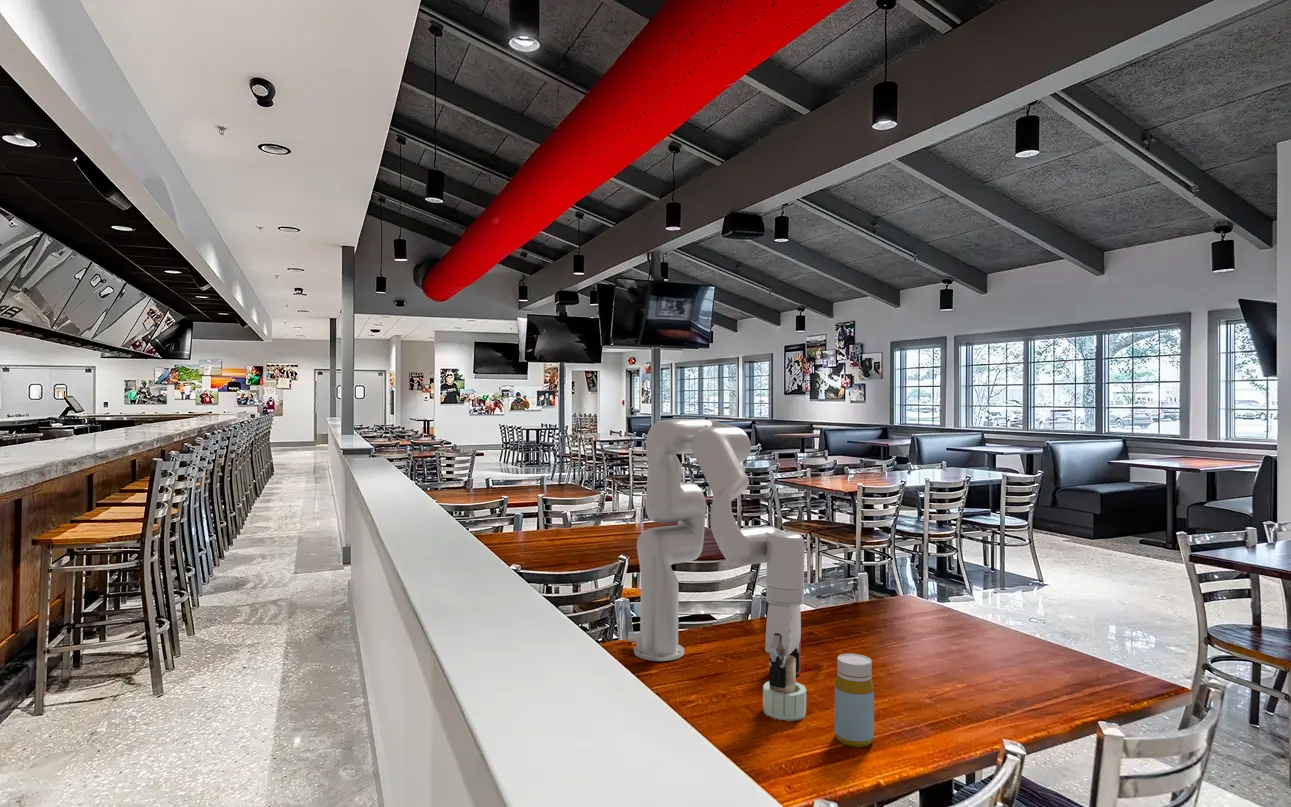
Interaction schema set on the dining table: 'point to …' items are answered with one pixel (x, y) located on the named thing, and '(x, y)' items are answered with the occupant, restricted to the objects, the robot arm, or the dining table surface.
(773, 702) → the cup
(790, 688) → the plug
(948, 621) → the dining table surface
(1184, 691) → the dining table surface
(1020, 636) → the dining table surface
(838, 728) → the bottle
